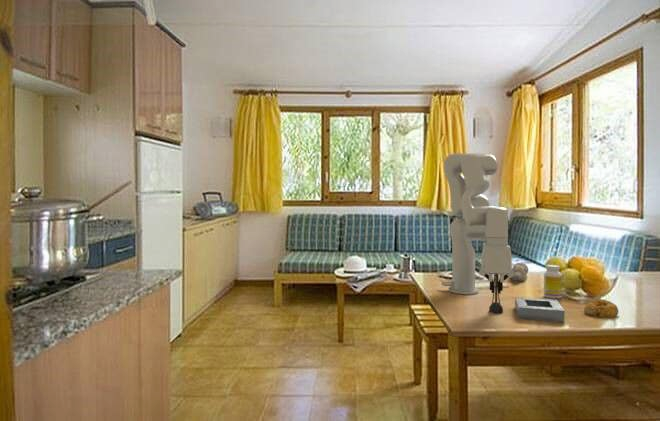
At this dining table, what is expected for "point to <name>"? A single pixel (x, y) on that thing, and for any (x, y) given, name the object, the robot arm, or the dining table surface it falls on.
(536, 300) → the tray
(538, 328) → the dining table surface
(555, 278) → the supplement bottle
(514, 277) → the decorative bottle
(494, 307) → the wooden tabletop sculpture
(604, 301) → the bagel
